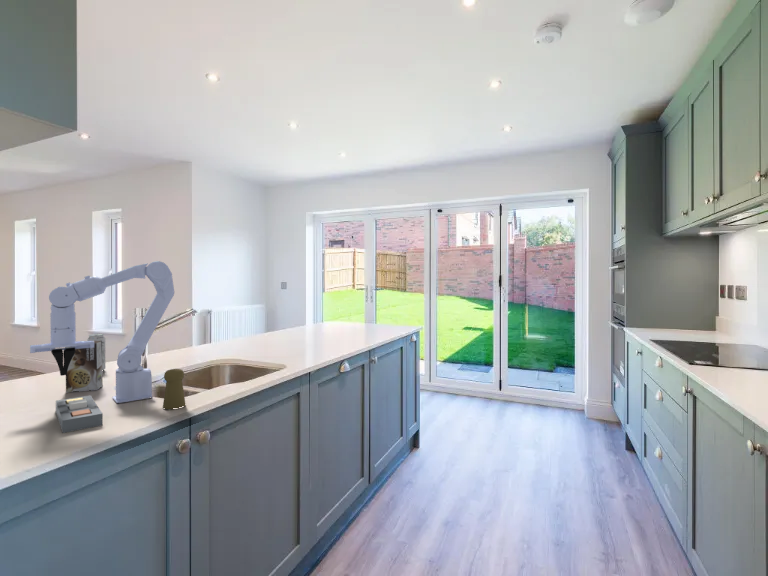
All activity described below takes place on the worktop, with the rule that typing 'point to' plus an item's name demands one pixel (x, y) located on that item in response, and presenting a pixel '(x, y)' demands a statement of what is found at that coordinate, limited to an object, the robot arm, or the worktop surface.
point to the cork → (174, 389)
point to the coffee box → (85, 369)
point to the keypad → (80, 421)
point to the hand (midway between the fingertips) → (63, 374)
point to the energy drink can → (98, 338)
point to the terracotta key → (80, 412)
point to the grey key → (77, 404)
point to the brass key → (73, 400)
